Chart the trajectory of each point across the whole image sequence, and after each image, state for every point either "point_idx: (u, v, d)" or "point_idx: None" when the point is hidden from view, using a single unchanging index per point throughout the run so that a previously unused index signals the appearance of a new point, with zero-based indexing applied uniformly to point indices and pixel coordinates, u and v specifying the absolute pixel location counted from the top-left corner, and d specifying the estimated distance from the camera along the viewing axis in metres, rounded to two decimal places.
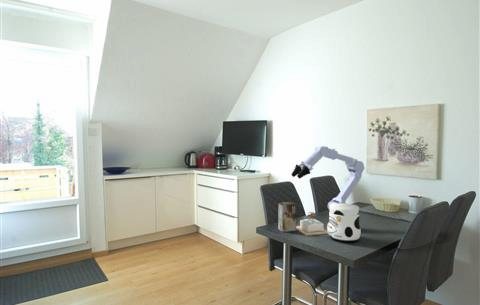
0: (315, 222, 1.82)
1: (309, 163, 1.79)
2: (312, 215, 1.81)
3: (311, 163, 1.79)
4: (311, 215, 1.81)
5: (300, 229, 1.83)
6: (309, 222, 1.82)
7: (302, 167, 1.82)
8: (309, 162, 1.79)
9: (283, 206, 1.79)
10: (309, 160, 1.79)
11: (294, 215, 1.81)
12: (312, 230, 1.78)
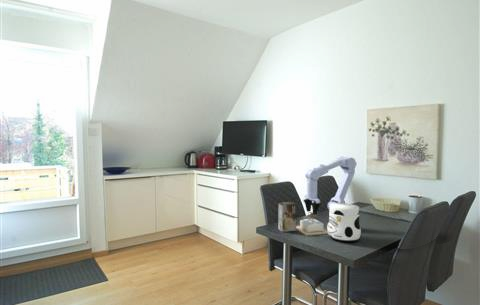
0: (315, 222, 1.82)
1: (313, 195, 1.79)
2: (312, 215, 1.81)
3: (314, 194, 1.79)
4: (311, 215, 1.81)
5: (300, 229, 1.83)
6: (309, 222, 1.82)
7: (310, 200, 1.84)
8: (312, 194, 1.79)
9: (283, 206, 1.79)
10: (310, 193, 1.80)
11: (294, 215, 1.81)
12: (312, 230, 1.78)
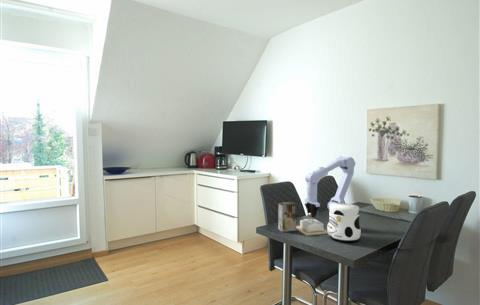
0: (315, 222, 1.82)
1: (313, 199, 1.79)
2: None
3: (314, 197, 1.79)
4: (311, 215, 1.81)
5: (300, 229, 1.83)
6: (309, 222, 1.82)
7: (310, 203, 1.84)
8: (312, 198, 1.79)
9: (283, 206, 1.79)
10: (310, 196, 1.80)
11: (294, 215, 1.81)
12: (312, 230, 1.78)
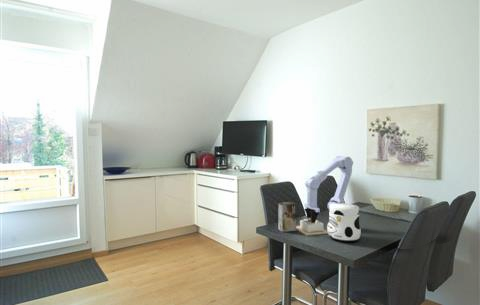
0: None
1: (312, 204, 1.80)
2: None
3: (314, 202, 1.80)
4: None
5: (300, 229, 1.83)
6: None
7: (310, 208, 1.84)
8: (312, 203, 1.80)
9: (283, 206, 1.79)
10: (310, 202, 1.80)
11: (294, 215, 1.81)
12: (312, 230, 1.78)
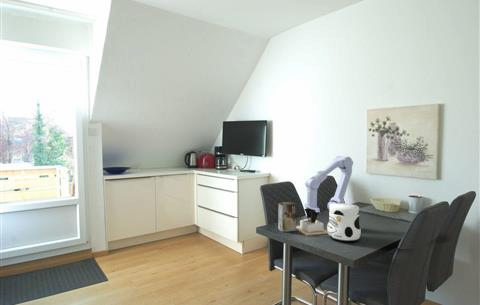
0: None
1: (312, 204, 1.80)
2: None
3: (314, 202, 1.80)
4: None
5: (300, 229, 1.83)
6: None
7: (310, 208, 1.84)
8: (312, 203, 1.80)
9: (283, 206, 1.79)
10: (310, 202, 1.80)
11: (294, 215, 1.81)
12: (312, 230, 1.78)
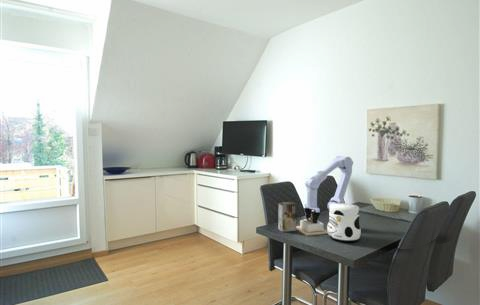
0: None
1: (312, 204, 1.80)
2: (312, 220, 1.81)
3: (314, 202, 1.80)
4: (311, 220, 1.81)
5: (300, 229, 1.83)
6: None
7: (310, 208, 1.84)
8: (312, 203, 1.80)
9: (283, 206, 1.79)
10: (310, 202, 1.80)
11: (294, 215, 1.81)
12: (312, 230, 1.78)
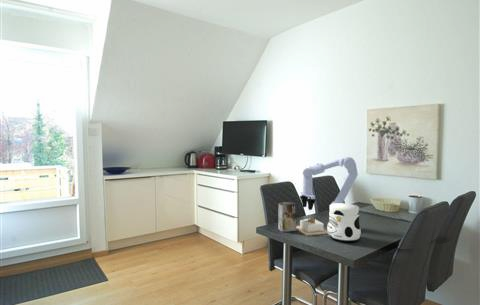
0: None
1: (308, 192, 1.91)
2: (312, 220, 1.81)
3: (309, 190, 1.91)
4: (311, 220, 1.81)
5: (300, 229, 1.83)
6: None
7: (306, 196, 1.95)
8: (307, 191, 1.91)
9: (283, 206, 1.79)
10: (306, 189, 1.91)
11: (294, 215, 1.81)
12: (312, 230, 1.78)
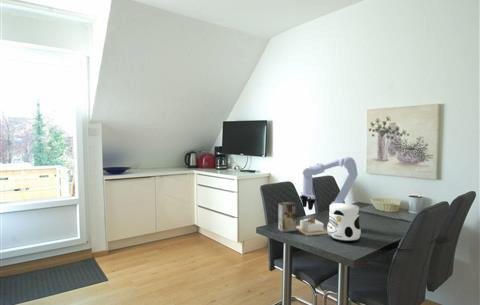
0: None
1: (308, 192, 1.91)
2: (312, 220, 1.81)
3: (309, 190, 1.91)
4: (311, 220, 1.81)
5: (300, 229, 1.83)
6: None
7: (306, 196, 1.95)
8: (307, 191, 1.91)
9: (283, 206, 1.79)
10: (306, 189, 1.91)
11: (294, 215, 1.81)
12: (312, 230, 1.78)
